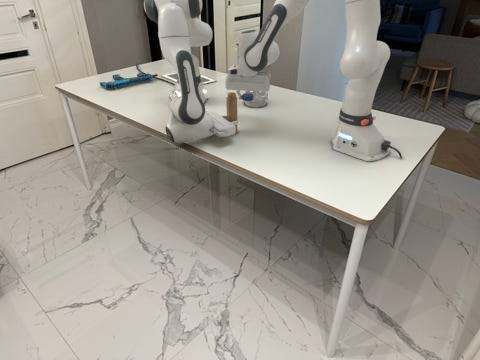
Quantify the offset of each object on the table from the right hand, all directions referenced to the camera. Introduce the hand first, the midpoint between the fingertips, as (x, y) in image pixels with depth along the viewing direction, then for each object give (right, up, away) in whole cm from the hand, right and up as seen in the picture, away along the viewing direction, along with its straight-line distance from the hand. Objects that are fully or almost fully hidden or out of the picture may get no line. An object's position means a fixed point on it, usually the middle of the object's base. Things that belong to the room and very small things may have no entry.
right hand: (247, 99), depth 158 cm
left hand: (-6, -11, -11) cm, 17 cm away
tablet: (-36, +27, +58) cm, 73 cm away
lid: (0, +1, -1) cm, 2 cm away
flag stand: (+5, +3, +21) cm, 21 cm away
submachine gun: (-73, +24, +53) cm, 93 cm away
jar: (-7, -16, -9) cm, 20 cm away
